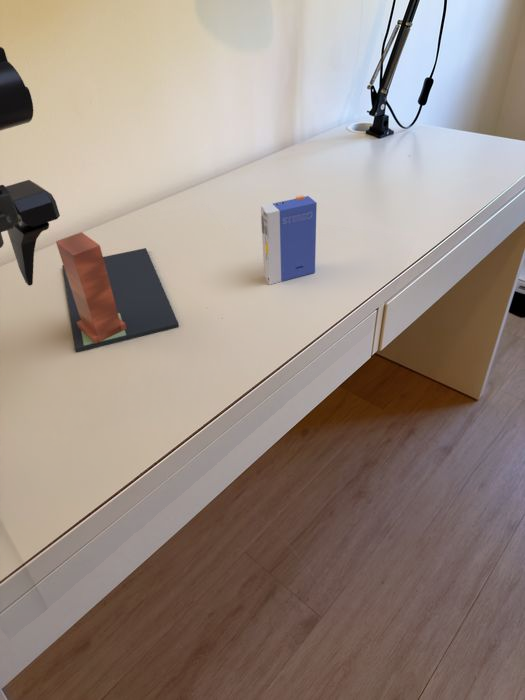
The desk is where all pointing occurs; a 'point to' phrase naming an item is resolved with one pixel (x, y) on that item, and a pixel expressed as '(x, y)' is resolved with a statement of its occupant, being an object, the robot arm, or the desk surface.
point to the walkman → (289, 239)
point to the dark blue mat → (129, 299)
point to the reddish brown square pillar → (90, 287)
